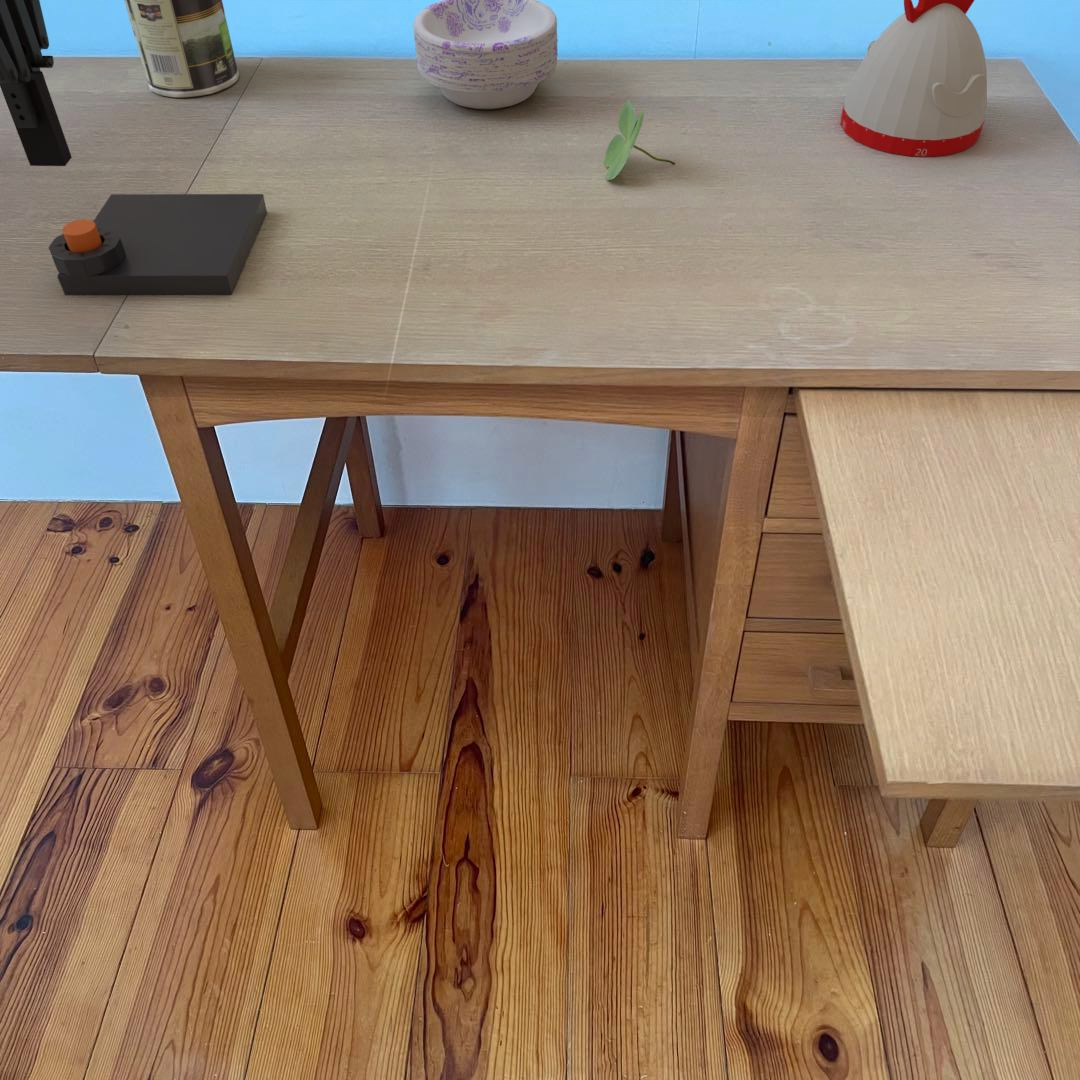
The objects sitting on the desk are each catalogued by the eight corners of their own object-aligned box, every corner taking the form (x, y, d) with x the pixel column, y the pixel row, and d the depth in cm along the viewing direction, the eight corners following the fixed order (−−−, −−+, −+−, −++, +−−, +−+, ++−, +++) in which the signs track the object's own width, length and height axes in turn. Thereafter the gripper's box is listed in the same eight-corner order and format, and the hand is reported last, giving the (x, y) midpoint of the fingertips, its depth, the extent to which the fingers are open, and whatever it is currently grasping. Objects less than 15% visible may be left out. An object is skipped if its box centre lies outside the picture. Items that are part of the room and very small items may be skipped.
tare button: (64, 254, 82) (57, 235, 81) (75, 238, 84) (68, 219, 82) (96, 254, 82) (89, 234, 81) (106, 238, 84) (99, 218, 82)
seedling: (642, 216, 101) (589, 189, 98) (660, 143, 102) (608, 113, 99) (685, 197, 95) (629, 167, 92) (704, 119, 96) (649, 86, 93)
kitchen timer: (1007, 143, 101) (1061, -21, 90) (888, 166, 98) (929, -1, 87) (926, 91, 110) (966, -64, 99) (815, 110, 107) (844, -47, 96)
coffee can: (239, 59, 119) (210, -77, 109) (239, 93, 112) (208, -48, 102) (149, 67, 117) (111, -70, 107) (144, 102, 110) (102, -40, 100)
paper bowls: (457, 134, 104) (451, 53, 98) (398, 83, 113) (389, 8, 108) (583, 102, 109) (584, 24, 103) (516, 57, 118) (514, -17, 113)
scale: (54, 297, 83) (39, 259, 81) (109, 213, 93) (97, 177, 91) (231, 297, 83) (221, 259, 80) (267, 213, 93) (259, 176, 90)
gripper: (-72, -192, 56) (70, 203, 73) (17, -235, 65) (125, 125, 82) (-205, -193, 56) (-32, 202, 73) (-98, -236, 65) (34, 124, 82)
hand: (51, 161), depth 78 cm, fingers closed
